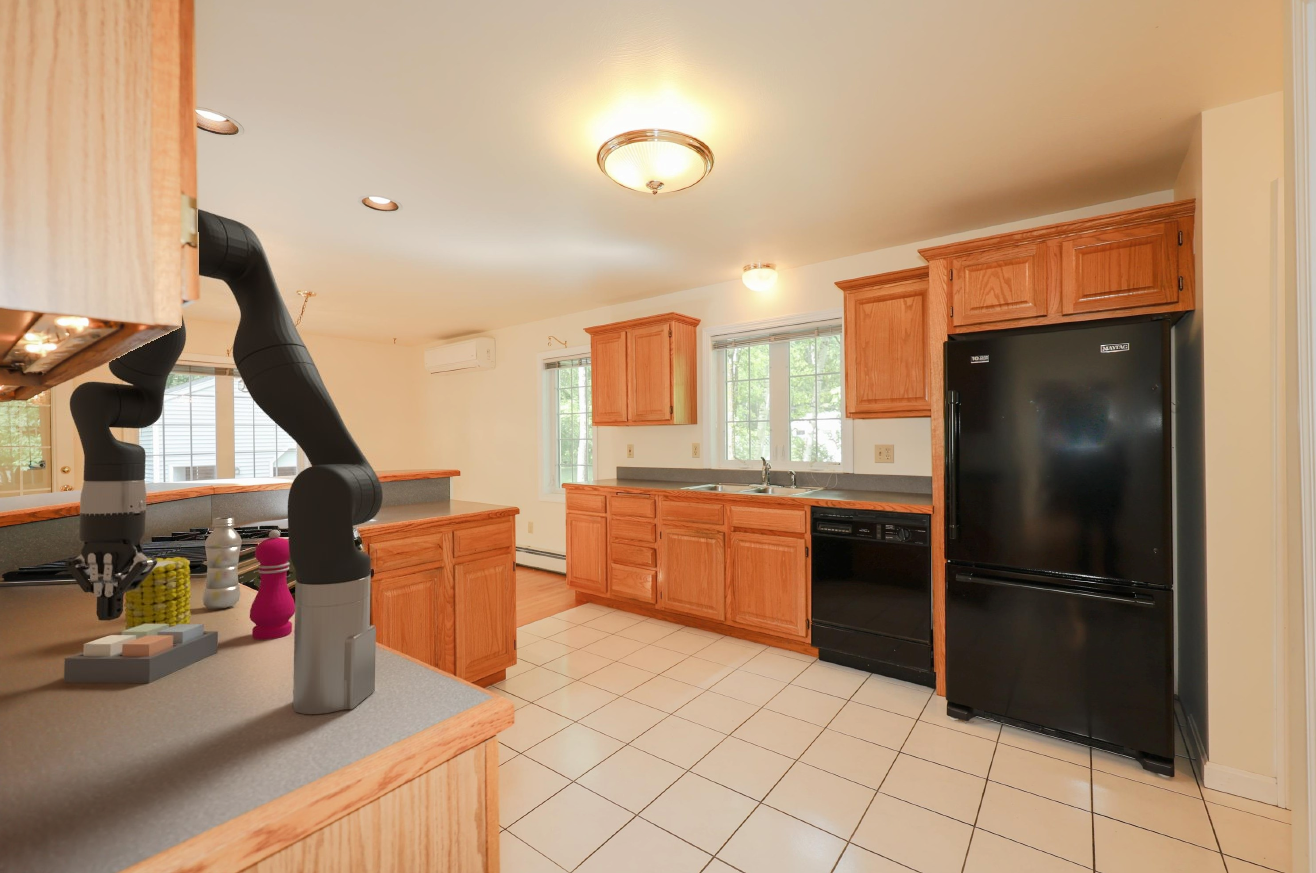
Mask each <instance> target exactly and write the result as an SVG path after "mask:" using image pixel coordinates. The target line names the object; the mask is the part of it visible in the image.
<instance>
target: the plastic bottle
mask: <svg viewBox="0 0 1316 873" xmlns="http://www.w3.org/2000/svg"><path fill="white" fill-rule="evenodd" d="M212 521H213V523H212V527H213V528H214V529H213V531H211V533H210V534H209V535H208V537H206V540H205V542H204V547H205V554H206V566H207V568H206V569H207V570H206V573H207V574H206V580H205V588H204V590H203V595H202V602H203V603H202V604H203V605H204V607H205V608H206V609H212V610H213V609H217V610H221V609H225V608H228V607H229V608H230V607H232V606H235V605H236V604H237V603H238V602H239V601H240V598H241V597H240V596H241V590H240V589H241V588H240V585H239V574H238V573H239V572H238V571H239V570H238V568H239V566H238V564H239V560H240V559H239V558H240V553H241V552H240V551H241V549H242V542H243V540H242V538H241V535H240V534H239V532H238V531H236V529H234V527H235V526H236V523H235V517H216V518H213V520H212Z"/></svg>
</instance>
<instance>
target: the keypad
mask: <svg viewBox="0 0 1316 873" xmlns="http://www.w3.org/2000/svg"><path fill="white" fill-rule="evenodd" d="M218 637H219V631H217V630H216V631H215V630H214V631H212V630H208V631H205V630H203V635H202V636H199V637H197V638H194V639H192V640H189V641H187V642H184V643H173V647H172V648H169V649H167V650H164V651H162V652H159V653H157V654H154V655H152V656H122V652H121V653H118V654H115V655H113V656H83V652H79V653H76V654H74V655H70V656H67V657H65V658H64V663H63V664H64V665H63V666H64V668H63V669H64V670H63V683H74V684H75V683H77V684H78V683H82V684H83V683H85V684H87V683H89V684H90V683H91V684H94V683H97V684H98V683H102V684H106V683H107V684H108V683H109V684H112V683H113V684H150V683H152V682H155V681H157V680H159V679H161V678H164V677H166V676H168V675H170V674H172V673H174V672H176V671H179V670H181V669H184V668H185V667H188V666H191V665H192V664H195V663H197V662H199V661H201V660H203V659H206V658H208V657H210V656H212V655H214V654H216V653H218V650H219V649H218V647H219V646H218V644H219V642H218V640H219V638H218Z"/></svg>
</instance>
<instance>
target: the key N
mask: <svg viewBox="0 0 1316 873" xmlns="http://www.w3.org/2000/svg"><path fill="white" fill-rule="evenodd" d="M133 640H136V635H121V634H110V635H107V636H104V637H100V638H97V639H95V640H92V641H89V642H86V643H83V656H113V655H115V654H118V653H121V652H122V644H124V643H127V642H130V641H133Z"/></svg>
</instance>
